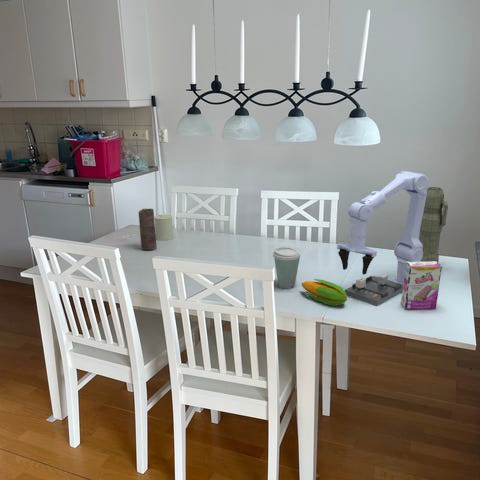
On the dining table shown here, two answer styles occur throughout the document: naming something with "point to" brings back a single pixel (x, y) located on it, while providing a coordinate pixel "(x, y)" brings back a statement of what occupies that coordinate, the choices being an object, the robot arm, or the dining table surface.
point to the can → (163, 227)
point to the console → (375, 291)
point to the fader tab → (360, 282)
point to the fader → (383, 279)
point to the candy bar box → (421, 285)
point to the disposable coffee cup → (286, 266)
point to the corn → (325, 292)
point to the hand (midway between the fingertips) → (354, 271)
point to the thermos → (432, 223)
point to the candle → (147, 229)
